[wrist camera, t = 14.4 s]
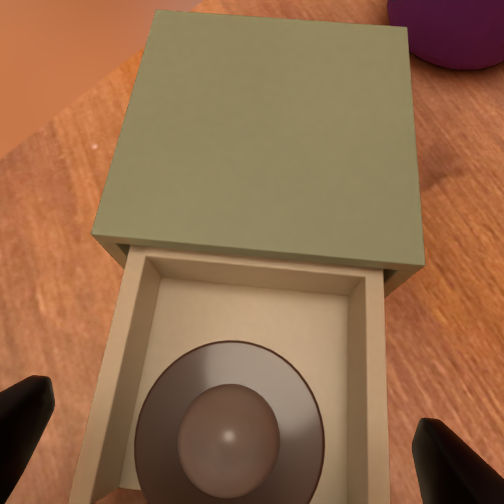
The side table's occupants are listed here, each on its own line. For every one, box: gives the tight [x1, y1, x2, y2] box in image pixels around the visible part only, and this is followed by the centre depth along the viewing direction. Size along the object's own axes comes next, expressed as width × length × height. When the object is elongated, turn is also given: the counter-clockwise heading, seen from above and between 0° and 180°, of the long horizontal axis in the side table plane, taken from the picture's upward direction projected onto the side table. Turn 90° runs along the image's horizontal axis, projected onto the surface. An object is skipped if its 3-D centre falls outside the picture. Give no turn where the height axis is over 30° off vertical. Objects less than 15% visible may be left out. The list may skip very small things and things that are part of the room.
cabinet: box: [91, 10, 425, 298], centre depth 20 cm, size 14×14×6 cm
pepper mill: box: [134, 340, 325, 504], centre depth 12 cm, size 5×5×9 cm
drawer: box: [68, 245, 391, 504], centre depth 15 cm, size 16×12×4 cm
